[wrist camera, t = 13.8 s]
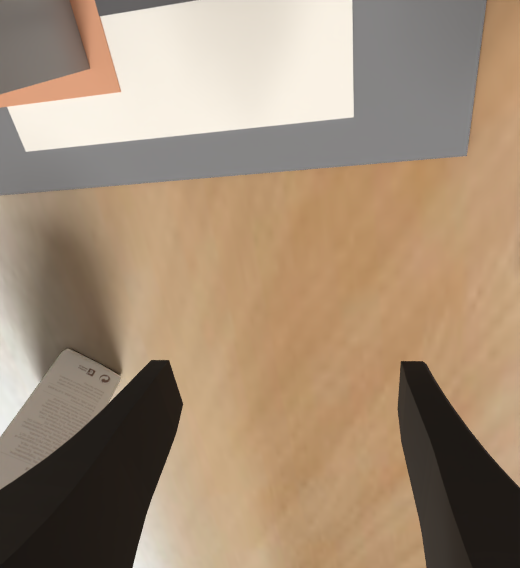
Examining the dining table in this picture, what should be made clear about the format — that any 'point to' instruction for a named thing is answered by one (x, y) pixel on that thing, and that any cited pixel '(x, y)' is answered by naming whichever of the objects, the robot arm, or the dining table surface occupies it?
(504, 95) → the dining table surface
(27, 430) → the skincare box
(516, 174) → the dining table surface
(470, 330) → the dining table surface
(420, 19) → the mat
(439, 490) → the robot arm
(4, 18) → the grey post with dome
